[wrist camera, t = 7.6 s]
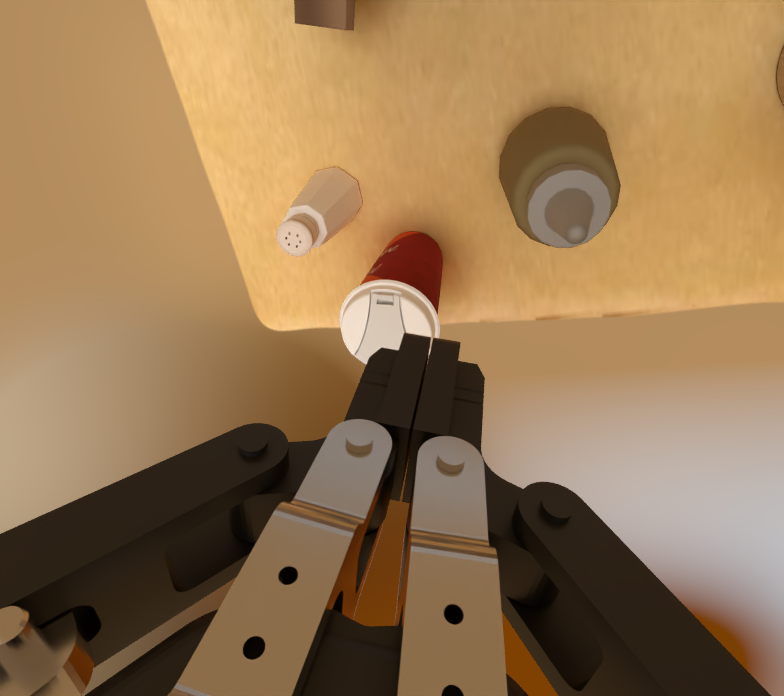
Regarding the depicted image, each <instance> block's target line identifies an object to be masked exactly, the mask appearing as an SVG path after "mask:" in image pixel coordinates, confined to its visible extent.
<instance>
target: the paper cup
mask: <svg viewBox="0 0 784 696" xmlns="http://www.w3.org/2000/svg"><path fill="white" fill-rule="evenodd" d="M442 265H443V259H442V253H441V250H440V248H439V246H438V244H437V243H436V242H435V241H434V240H433V239H432V238H431V237H430V236H428V235H426V234H424V233H421V232H415V231H411V232H405V233H402V234H400V235H398V236H397V237H395V238H394V239H393V240H392V241H391V242H390V243H389V244H388V246H387V247H386V248H385V250H384V251H383V253H382V254H381V255H380V257H379V258H378V260H377V261H376V263H375V264H374V265H373V267H372V268H371V270H370V271H369V273H368V274H367V275H366V277H365V278H364V280H363V281H362V283H361V284H360V286H358V287H357V288H355V289H354V290H353V291H351V293H350V294H349V295H348V296H347V297H346V299H345V300H344V302H343V304H342V307H341V311H340V327H341V332H342V337H343V340H344V342H345V344H346V346H347V348H348V350H349V351H350V352H351V354H352V355H354V354H355V355H354V356H355V357H356V358H357V359H359V360H360V361H361V362H363V363H365V364H367V362H368V359H369V357H370V356H371V355H373V354H374V353H375V352H376V351H378V350H379V349H380V348H381V347H382V348H388V349H394V350H399V347H400V344H401V341H402V338H403V334H404V333H410V334H416V335H422V336H427V337H431V343H430V349H429V354H430V351H431V346H432V341H433V338H439V333H440V323H439V318H438V306H439V297H440V287H441V277H442Z"/></svg>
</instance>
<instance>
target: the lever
mask: <svg viewBox="0 0 784 696" xmlns="http://www.w3.org/2000/svg"><path fill="white" fill-rule="evenodd" d="M294 4H295V23H297V24H304V25H312V26H319V27H326V28H334V29H341V30H354V11H355V0H294Z"/></svg>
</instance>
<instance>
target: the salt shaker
mask: <svg viewBox="0 0 784 696" xmlns="http://www.w3.org/2000/svg"><path fill="white" fill-rule="evenodd" d="M362 204H363V203H362V198H361V194H360V190H359V186H358V182H357V180H355V179H354V178H353V177H351V176H350V175H348V174H347V173H346V172H344V171H343V170H341V169H340V168H339V167H334V168H329V169H323V170H318V171H316V172H315V173H314V175H313V176H312V177H311V179H310V180H309V182H308V183H307V184H306V186H305V187H304V188H303V190H302V191H301V193H300V194H299V195H298V197H297V198H296V199H295V201H294V202H293V204H292V205H291V207H290V209H289V210H288V212H287V214H286V216H285V218H284V220H283V223H282V224H281V225H280V226H279V227H278V229H277V233H276V236H277V241H278V244H279V245H280V247H281V248H282V249H283V250H284V251H285V252H286V253H288V254H290V255H292V256H303V255H305V254H307V253H308V252H309V251H310V249H311V248H315V247H320V246H321V245H323V244H324V243H325V242H327V241H328V240H329V239H330V238H332V237H333V236H334V235H335V234H337V233H338V232H339V231H340V230H341V229H343V228H344V227H345V226H346V225H348V224H349V223H350V222H351V221H352V220H353V218H354V217H355V215H356V214H357V212H358V210H359V209H360V207H361V206H362Z"/></svg>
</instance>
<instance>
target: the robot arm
mask: <svg viewBox="0 0 784 696" xmlns="http://www.w3.org/2000/svg"><path fill="white" fill-rule="evenodd" d="M777 86H778V92H779V95H780V98H781V100H782V103H783V104H784V48H783V51H782V54H781V56H780V59H779V65H778V71H777ZM430 343H431V337H427V336H422V335H416V334H410V333H404V334H403V338H402V341H401V344H400V347H399V350H394V349H388V348H382V347H381V348H380V349H379V350H378V351H376V352H375V353H374V354H373V355H371V356H370V357H369V359H368V362H367V364H366V367H365V370H364V373H363V374H362V377H361V379H360V383H359V385H358V387H357V390H356V392H355V395H354V397H353V400H352V402H351V405H350V407H349V410H348V412H347V415H346V417H345V420H344V422H342V423H340V424H338V425H336V426H335V427H334V428H333V429H332V430H331V431H330V433H329V434H328V436H327V437H325V438H322V439H318V440H314V441H302V442H288V440H287V438H286V436H285V434H284V433H283V432H282V431H281V430H280V429H278V428H276V427H274V426H271V425H268V424H261V423H254V424H247V425H243V426H241V427H238V428H236V429H233V430H231V431H229V432H227V433H224V434H222V435H220V436H218V437H216V438H213V439H212V440H209V441H207V442H205V443H202V444H200V445H198V446H195V447H193V448H191V449H189V450H187V451H184V452H182V453H180V454H178V455H176V456H173V457H171V458H169V459H167V460H164V461H162V462H160V463H158V464H155V465H153V466H151V467H149V468H147V469H144V470H142V471H140V472H138V473H135V474H133V475H131V476H129V477H126V478H125V479H122V480H120V481H118V482H115V483H113V484H111V485H109V486H107V487H104V488H102V489H100V490H98V491H95V492H93V493H91V494H88V495H86V496H84V497H82V498H80V499H77V500H75V501H73V502H71V503H68V504H66V505H64V506H62V507H59V508H57V509H55V510H53V511H51V512H48V513H46V514H44V515H42V516H39V517H37V518H35V519H33V520H31V521H28V522H26V523H24V524H22V525H19V526H17V527H15V528H13V529H11V530H8V531H6V532H4V533H1V534H0V696H82V694H83V693H84V691H85V689H86V688H87V686H88V684H89V682H90V679H91V676H92V673H93V668H94V667H96V666H97V665H99V664H100V663H102V662H104V661H105V660H107V659H108V658H110V657H111V656H113V655H115V654H116V653H118V652H119V651H121V650H122V649H124V648H125V647H127V646H129V645H130V644H132V643H133V642H135V641H137V640H138V639H140V638H141V637H143V636H144V635H146V634H148V633H149V632H151V631H152V630H154V629H155V628H157V627H159V626H160V625H162V624H163V623H165V622H166V621H168V620H169V619H171V618H173V617H174V616H176V615H177V614H179V613H181V612H182V611H184V610H185V609H187V608H188V607H190V606H192V605H193V604H194V603H196V602H198V601H199V600H201V599H203V598H204V597H206V596H207V595H209V594H210V593H212V592H214V591H215V590H217V589H218V588H220V587H221V586H223V585H225V584H226V583H228V582H229V581H231V580H232V579H234V578H236V577H237V578H236V579H235V581H234V583H233V585H232V587H231V588H230V590H229V592H228V594H227V596H226V597H225V599H224V601H223V603H222V604H221V606H220V608H219V609H217V610H215V611H212V612H210V613H208V614H205V615H203V616H201V617H199V618H198V619H196V620H194V621H192V622H190V623H189V624H187V625H186V626H184V627H183V628H181V629H180V630H178V631H177V632H175V633H174V634H173V635H171V636H170V637H168V638H167V639H165V640H164V641H162V642H161V643H160V644H158V645H157V646H155V647H154V648H152V649H151V650H150V651H148V652H147V653H145V654H144V655H142V656H141V657H139V658H138V659H137V660H135V661H134V662H132V663H131V664H129V665H128V666H127V667H125V668H124V669H122V670H121V671H119V672H118V673H116V674H115V675H114V676H112V677H111V678H109V679H108V680H107V681H105V682H104V683H102V684H101V685H99V686H98V687H96V688H95V689H93V690H92V691H91V692H89V693H88V694H86V695H85V696H528V694H527V693H526V692H525V691H524V690H523V689H522V688H521V687H520V686H519V685H518V684H517V682H515V681H514V680H513V679H512V678H511V677H510V676H509V675H508V674H507V673H506V667H505V652H504V638H503V624H502V612H503V613H504V615H505V616H506V618H507V619H508V621H509V622H510V624H511V625H512V627H513V628H514V630H515V631H516V633H517V634H518V636H519V637H520V639H521V640H522V642H523V643H524V645H525V646H526V648H527V649H528V651H529V652H530V654H531V655H532V657H533V658H534V660H535V661H536V663H537V664H538V666H539V667H540V669H541V670H542V672H543V673H544V675H545V676H546V678H547V679H548V681H549V682H550V684H551V685H552V687H553V688H554V690H555V691H556V693H557V694H558V695H559V696H771V695H770V694H769V693H768V692H767V691H766V690H765V689H764V688H763V687H762V686H761V685H760V684H759V683H758V682H757V681H756V680H755V679H754V678H753V677H752V676H751V674H750V673H749V672H747V670H746V669H745V668H744V667H743V666H742V665H741V664H740V663H739V662H738V661H737V660H736V659H735V658H734V657H733V656H732V655H731V654H730V653H729V652H728V651H727V650H726V648H724V646H722V644H721V643H720V642H719V641H718V640H717V639H716V638H715V637H714V636H713V635H712V634H711V633H710V632H709V631H708V630H707V629H706V628H705V627H704V626H703V625H702V624H701V623H700V621H699V620H698V619H697V618H695V616H694V615H693V614H692V613H691V612H690V611H689V610H688V609H687V608H686V607H685V606H684V605H683V604H682V603H681V602H680V601H679V600H678V599H677V598H676V597H675V596H674V595H673V593H672V592H670V590H669V589H668V588H667V587H666V586H665V585H664V584H663V583H662V582H661V581H660V580H659V579H658V578H657V577H656V576H655V575H654V574H653V573H652V572H651V571H650V570H649V569H648V568H647V567H646V566H645V564H644V563H643V562H642V561H641V560H640V559H639V558H638V557H637V556H636V555H635V554H634V553H633V552H632V551H631V550H630V549H629V548H628V547H627V546H626V545H625V544H624V543H623V542H622V541H621V540H620V538H619V537H618V536H617V535H616V534H615V533H614V532H613V531H612V530H611V529H610V528H609V527H608V526H607V525H606V524H605V523H604V522H603V521H602V520H601V519H600V518H599V517H598V516H597V515H596V514H595V513H594V512H593V511H592V509H591V508H590V507H589V506H588V505H587V504H586V503H585V502H584V501H583V500H582V499H581V498H580V497H579V496H578V495H576V494H575V493H574V492H572V491H571V490H569V489H568V488H566V487H563V486H561V485H558V484H555V483H550V482H536V483H533V484H530V485H528V486H527V487H526V488H524V489H522V488H520V487H518V486H516V485H514V484H512V483H509V482H507V481H506V480H504V479H502V478H500V477H499V476H498V475H496V474H495V473H494V472H493V471H491V469H490V468H489V467H488V466H487V464H486V463H485V461H484V459H483V457H482V453H481V435H482V417H483V398H484V395H483V394H484V379H485V378H484V376H483V374H482V372H481V371H480V369H479V367H478V365H477V364H472V363H467V362H461V361H458V356H459V349H460V342H456V341H451V340H445V339H439V338H433V341H432V346H431V351H430V356H429V360H428V355H429V349H430ZM427 362H428V364H427ZM426 368H427V369H426ZM408 459H409V460H408ZM407 463H408V467H407ZM406 468H407V473H406V480H405V487H404V493H403V500H402V502H406V503H409V509H408V516H407V522H406V528H405V534H404V542H403V552H402V562H401V572H400V581H399V591H398V600H397V609H396V618H395V625H394V626H375V627H370V626H364V625H361V624H359V623H357V622H356V621H354V620H353V618H354V614H355V610H356V606H357V603H358V599H359V596H360V593H361V590H362V587H363V584H364V581H365V578H366V575H367V572H368V569H369V566H370V563H371V560H372V557H373V554H374V551H375V548H376V545H377V542H378V539H379V536H380V533H381V529H382V525H383V521H384V520H385V517H386V514H387V510H388V506H389V502H390V499H392V500H396V501H399V500H400V496H401V491H402V486H403V482H404V477H405V472H406Z"/></svg>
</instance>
